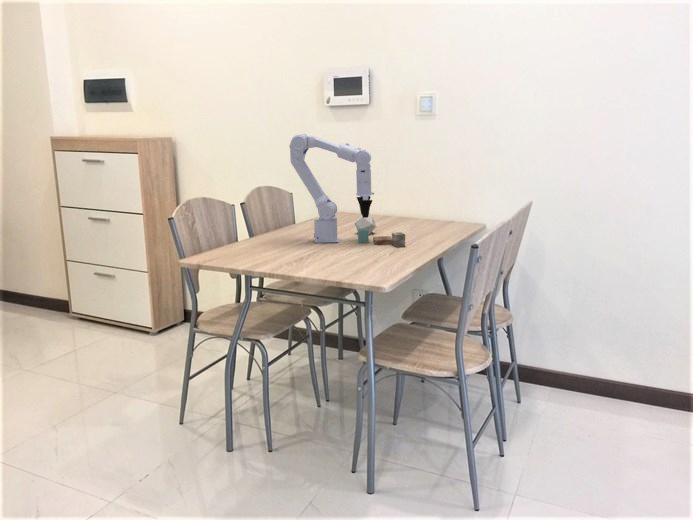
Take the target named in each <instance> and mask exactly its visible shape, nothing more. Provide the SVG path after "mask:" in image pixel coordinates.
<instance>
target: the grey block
mask: <svg viewBox="0 0 693 520" xmlns="http://www.w3.org/2000/svg"><path fill="white" fill-rule="evenodd" d="M391 238H392V245H391V246H392V247H393V248H405V247H406V233H404V232H402V231H399V232H391Z"/></svg>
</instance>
